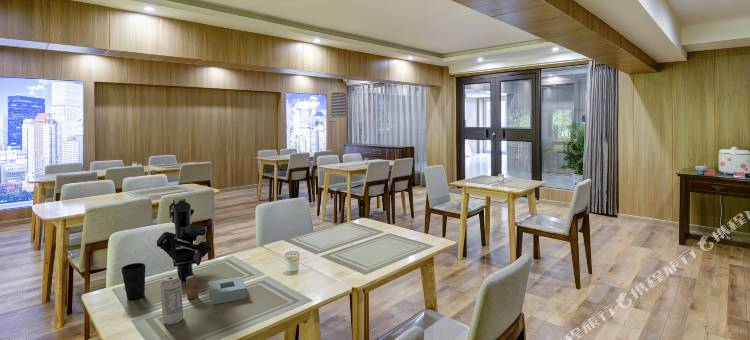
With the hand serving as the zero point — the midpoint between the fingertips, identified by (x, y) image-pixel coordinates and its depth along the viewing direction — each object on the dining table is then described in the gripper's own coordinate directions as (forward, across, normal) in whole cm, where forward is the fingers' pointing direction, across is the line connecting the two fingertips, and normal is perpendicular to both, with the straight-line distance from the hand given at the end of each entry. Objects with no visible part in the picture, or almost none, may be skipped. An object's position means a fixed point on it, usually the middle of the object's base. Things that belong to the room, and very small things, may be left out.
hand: (186, 262), depth 145 cm
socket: (+8, +18, +3) cm, 20 cm away
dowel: (+6, +9, +11) cm, 15 cm away
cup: (-3, -3, +26) cm, 27 cm away
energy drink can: (+19, -1, +8) cm, 21 cm away
